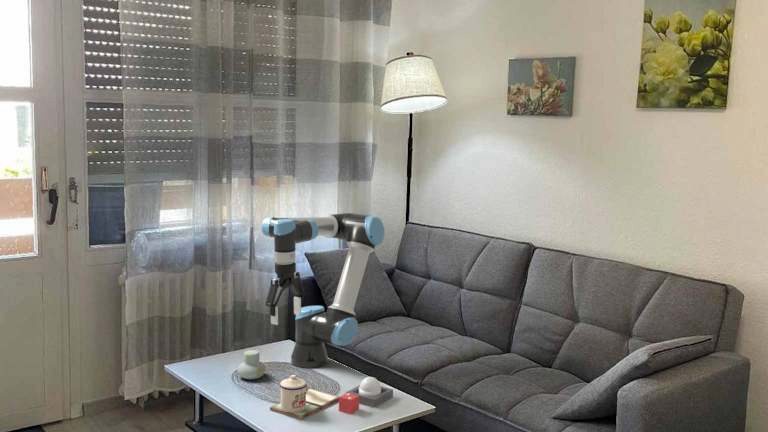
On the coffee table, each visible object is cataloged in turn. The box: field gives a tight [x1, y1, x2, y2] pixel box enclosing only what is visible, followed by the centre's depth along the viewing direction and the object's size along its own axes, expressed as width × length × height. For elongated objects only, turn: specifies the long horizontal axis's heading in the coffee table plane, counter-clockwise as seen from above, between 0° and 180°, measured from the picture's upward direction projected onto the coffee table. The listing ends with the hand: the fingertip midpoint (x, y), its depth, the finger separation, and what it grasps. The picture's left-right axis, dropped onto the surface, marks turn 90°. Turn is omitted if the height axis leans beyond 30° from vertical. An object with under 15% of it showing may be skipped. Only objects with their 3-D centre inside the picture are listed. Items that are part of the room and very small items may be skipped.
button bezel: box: [345, 384, 394, 409], centre depth 267 cm, size 12×12×3 cm
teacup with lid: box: [279, 374, 309, 413], centre depth 255 cm, size 12×9×12 cm
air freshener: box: [236, 349, 267, 380], centre depth 286 cm, size 11×8×10 cm
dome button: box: [359, 376, 381, 398], centre depth 267 cm, size 8×8×7 cm
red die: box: [338, 393, 360, 415], centre depth 256 cm, size 5×5×5 cm
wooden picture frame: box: [269, 388, 340, 421], centre depth 261 cm, size 22×14×1 cm, turn 147°
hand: (286, 319), depth 270 cm, fingers open, 13 cm apart
